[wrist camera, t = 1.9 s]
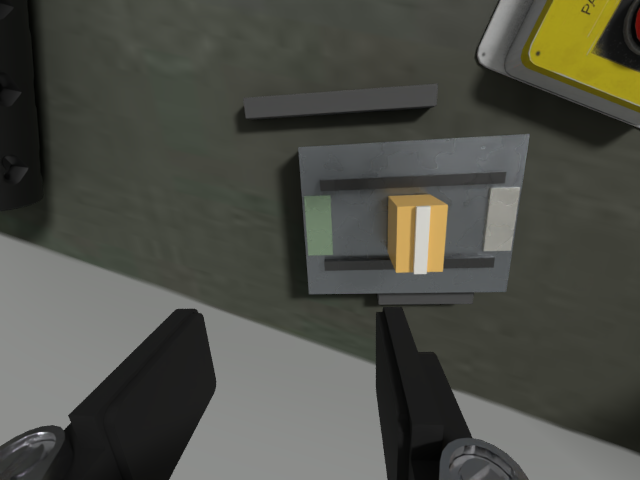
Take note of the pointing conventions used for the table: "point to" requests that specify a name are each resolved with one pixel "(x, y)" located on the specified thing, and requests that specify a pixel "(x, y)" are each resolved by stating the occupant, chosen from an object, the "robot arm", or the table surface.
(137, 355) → the robot arm
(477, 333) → the table surface
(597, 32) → the emergency button
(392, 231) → the cardboard box
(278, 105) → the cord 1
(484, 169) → the panel
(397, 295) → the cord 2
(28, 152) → the muzzle brake
